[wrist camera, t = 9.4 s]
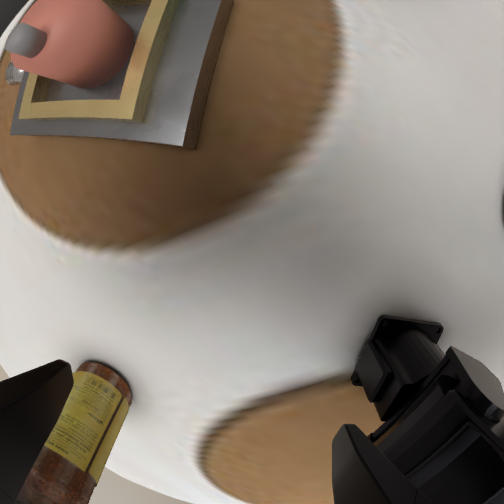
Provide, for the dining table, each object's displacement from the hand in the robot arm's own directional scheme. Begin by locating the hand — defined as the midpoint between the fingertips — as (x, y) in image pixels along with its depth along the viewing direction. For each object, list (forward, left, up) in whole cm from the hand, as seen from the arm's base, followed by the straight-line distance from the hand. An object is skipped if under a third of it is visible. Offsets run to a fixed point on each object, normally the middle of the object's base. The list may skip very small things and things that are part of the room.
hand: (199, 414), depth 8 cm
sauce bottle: (+10, +14, -12) cm, 21 cm away
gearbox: (+13, -13, -12) cm, 22 cm away
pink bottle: (+11, -13, -9) cm, 19 cm away
